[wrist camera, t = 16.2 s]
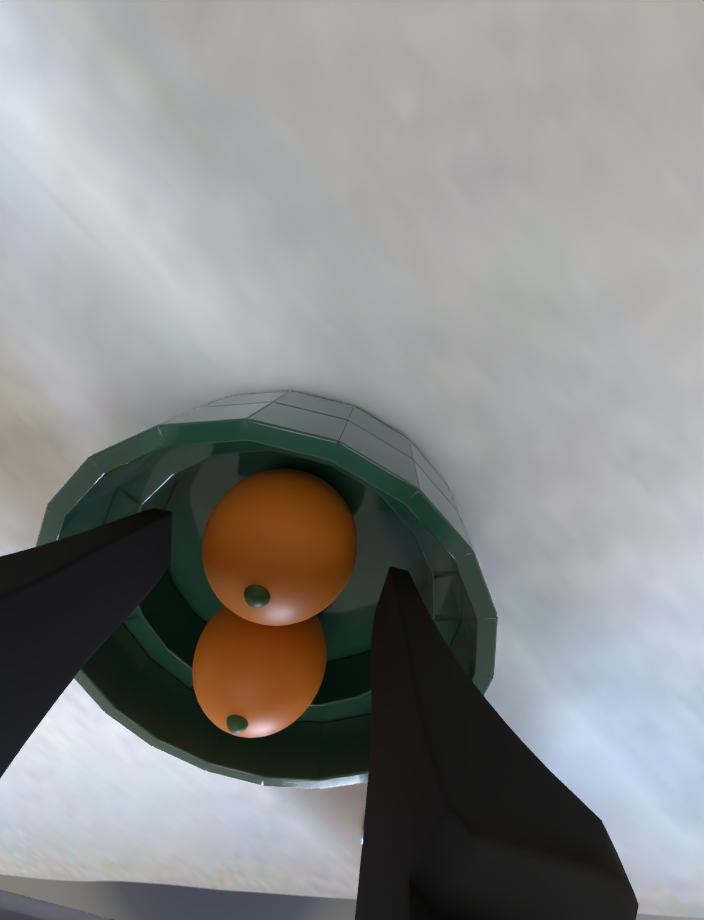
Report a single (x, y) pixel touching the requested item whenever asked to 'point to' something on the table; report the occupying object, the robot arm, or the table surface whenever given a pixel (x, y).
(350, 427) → the bowl
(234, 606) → the clementine
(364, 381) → the table surface
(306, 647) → the clementine
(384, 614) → the robot arm
